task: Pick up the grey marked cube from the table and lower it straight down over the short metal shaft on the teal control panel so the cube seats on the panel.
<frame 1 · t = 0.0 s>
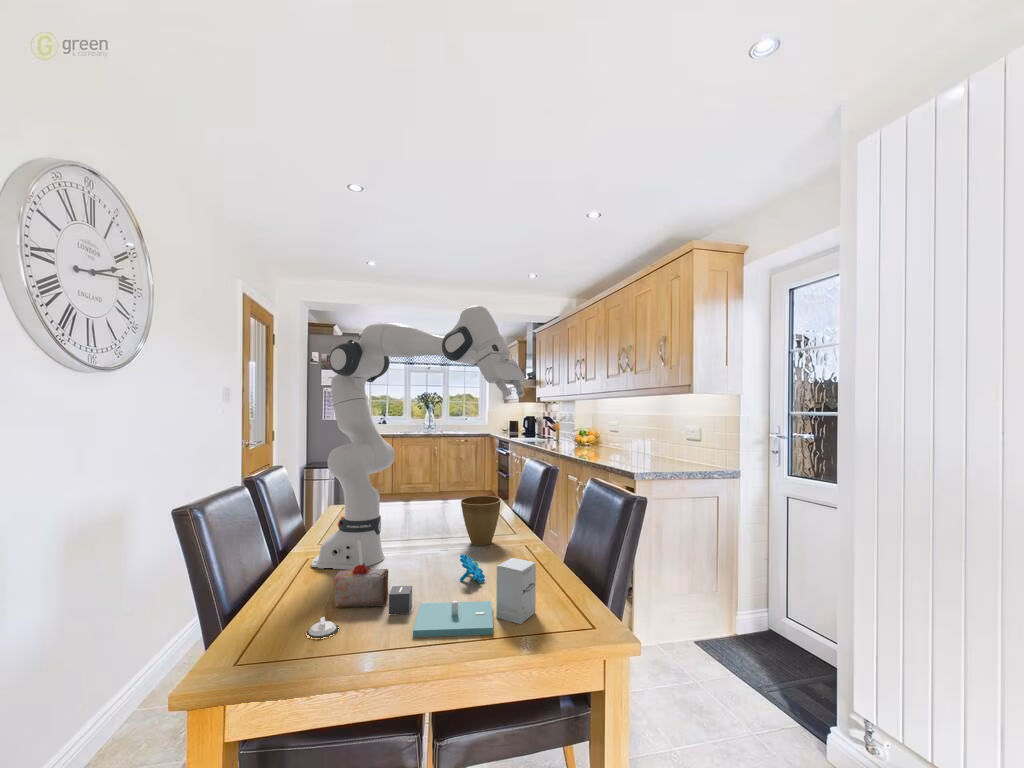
hand: (515, 395, 133), 54 cm above the table, tool tilted 30°, fingers open, 8 cm apart
plant pot: (480, 543, 173), on the table
food item: (361, 603, 122), on the table
supplement box: (516, 616, 115), on the table
control panel: (454, 621, 112), on the table
stove knob: (322, 634, 107), on the table
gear: (472, 581, 137), on the table
grey marked cube: (400, 609, 118), on the table
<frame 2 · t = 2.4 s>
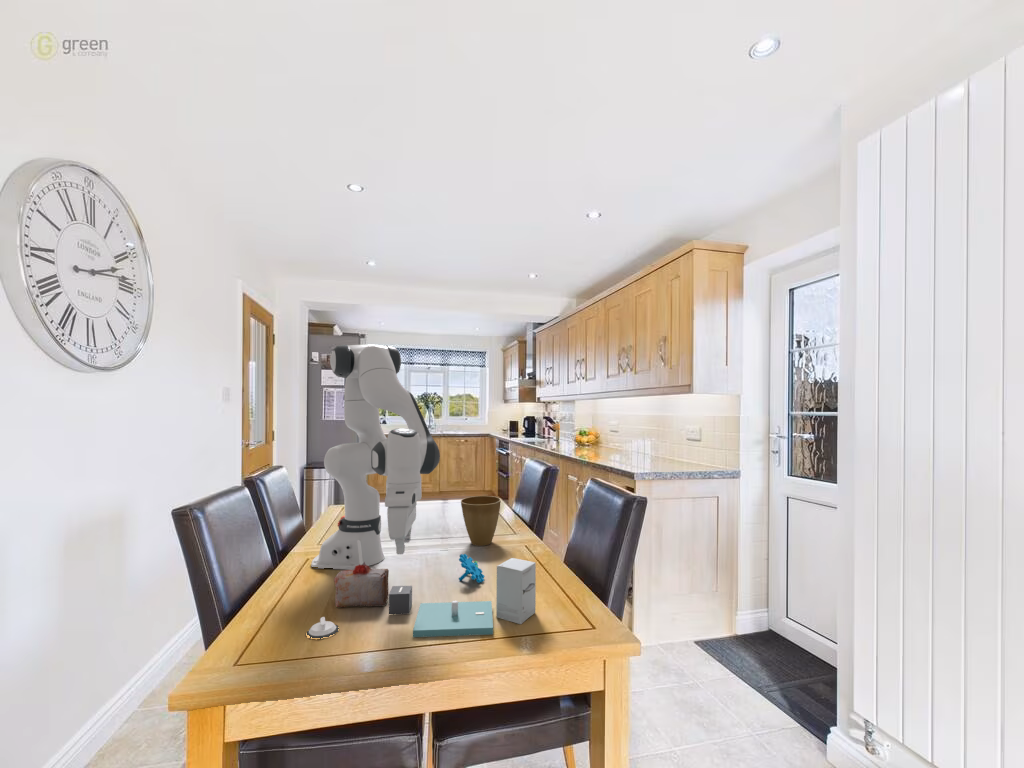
hand: (403, 547, 118), 16 cm above the table, tool pointing down, fingers open, 8 cm apart
nothing on the table moved.
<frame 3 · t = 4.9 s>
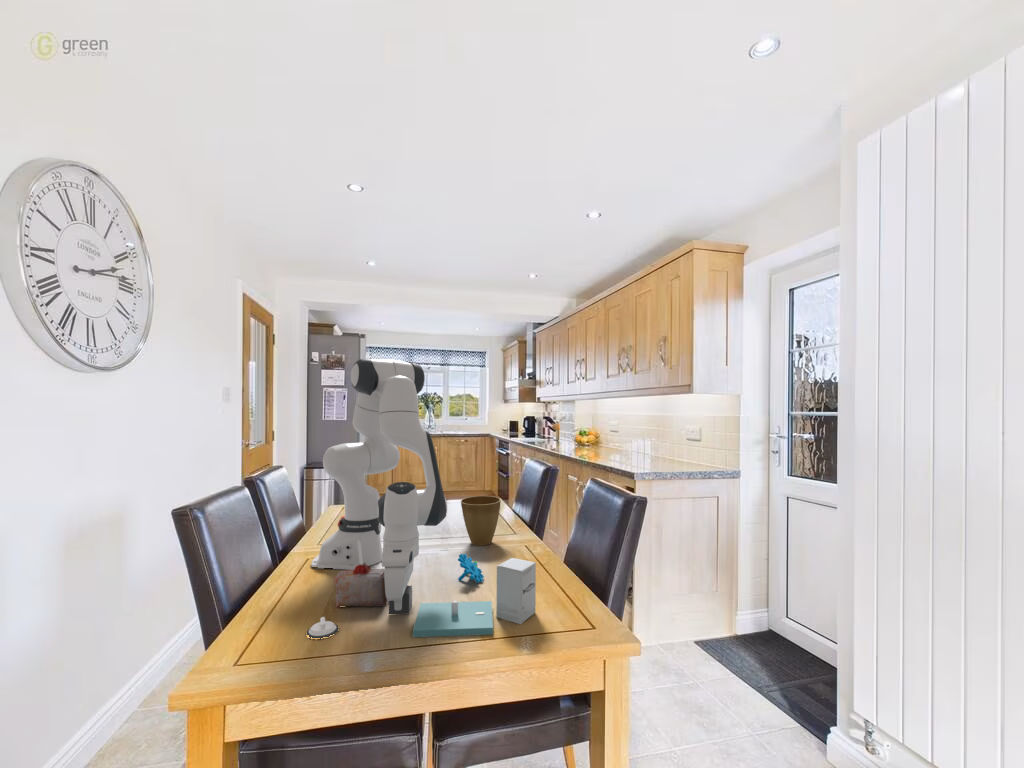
hand: (400, 603, 118), 2 cm above the table, tool pointing down, fingers closed on grey marked cube, 5 cm apart
grey marked cube: (400, 609, 118), on the table, touching gripper
everything else where it was.
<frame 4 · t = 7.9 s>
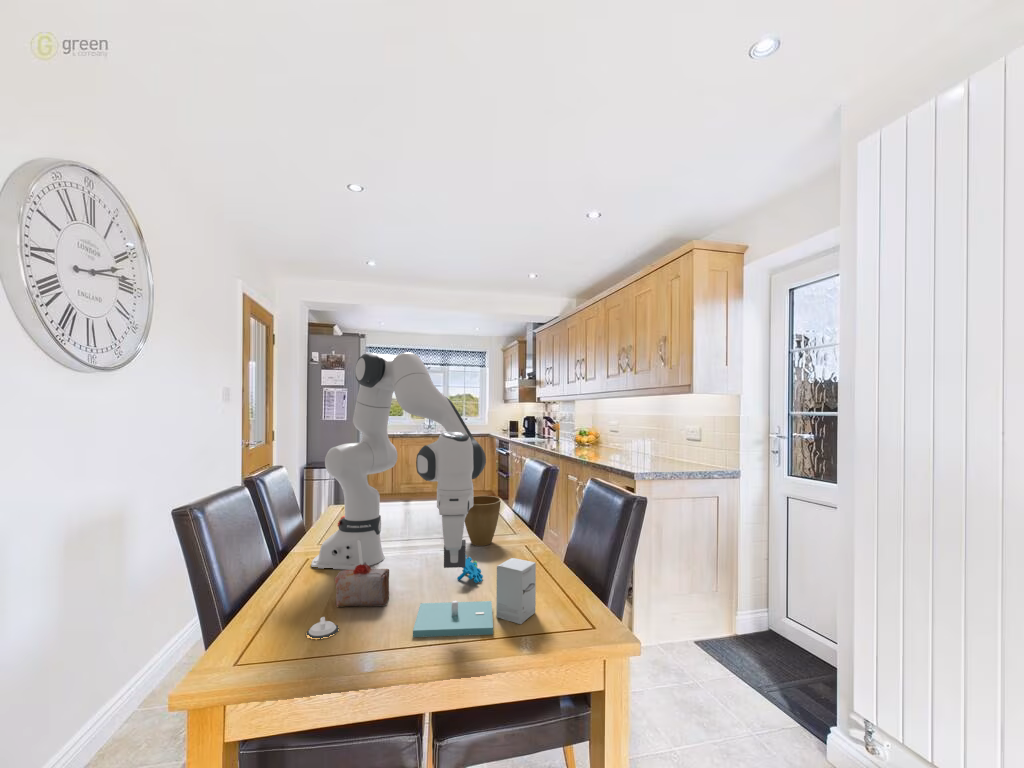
hand: (455, 557, 112), 15 cm above the table, tool pointing down, fingers closed on grey marked cube, 5 cm apart
grey marked cube: (454, 563, 112), point 14 cm above the table, touching gripper
everything else where it was.
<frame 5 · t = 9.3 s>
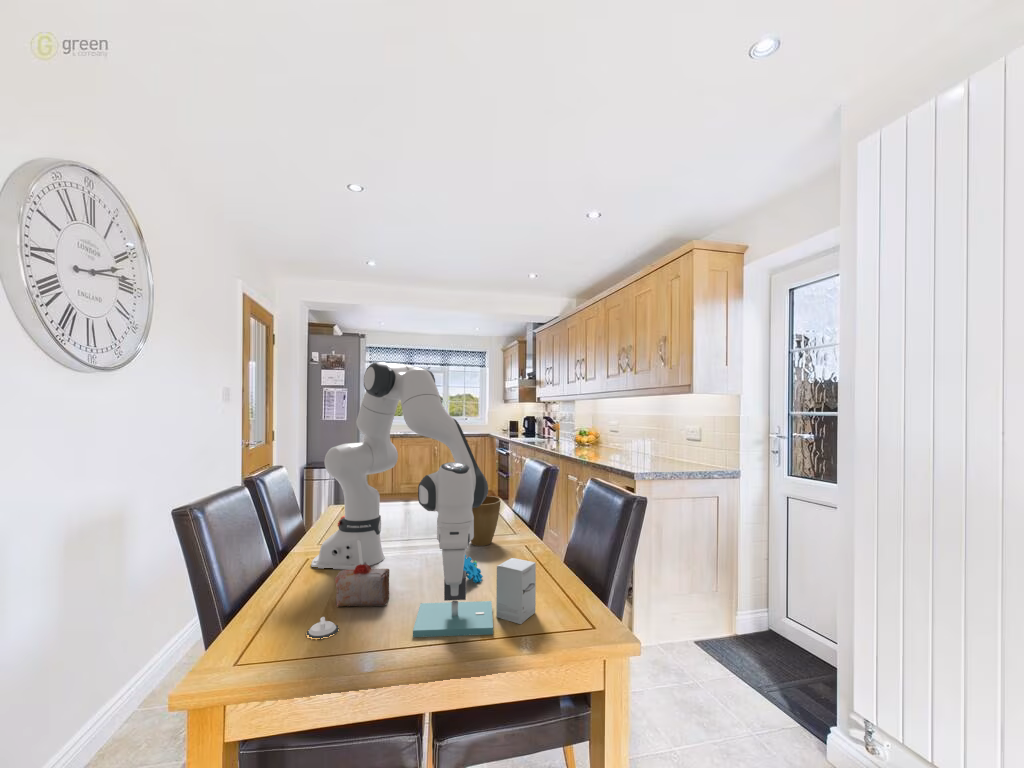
hand: (455, 589, 112), 8 cm above the table, tool pointing down, fingers closed on grey marked cube, 5 cm apart
grey marked cube: (455, 595, 112), point 6 cm above the table, touching gripper
everything else where it was.
when the fingers open (4 cm above the table, at t = 10.8 s): grey marked cube stays where it is, resting on control panel.
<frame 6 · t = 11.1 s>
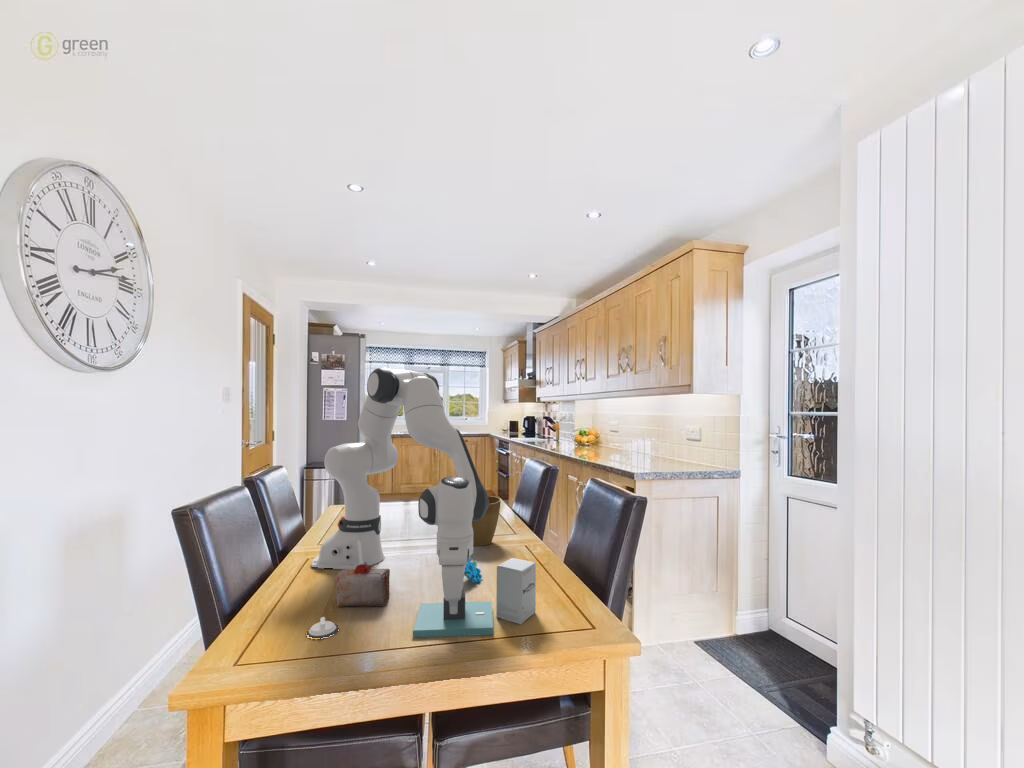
hand: (454, 603, 112), 4 cm above the table, tool pointing down, fingers open, 8 cm apart
grey marked cube: (454, 614, 112), point 1 cm above the table, touching control panel
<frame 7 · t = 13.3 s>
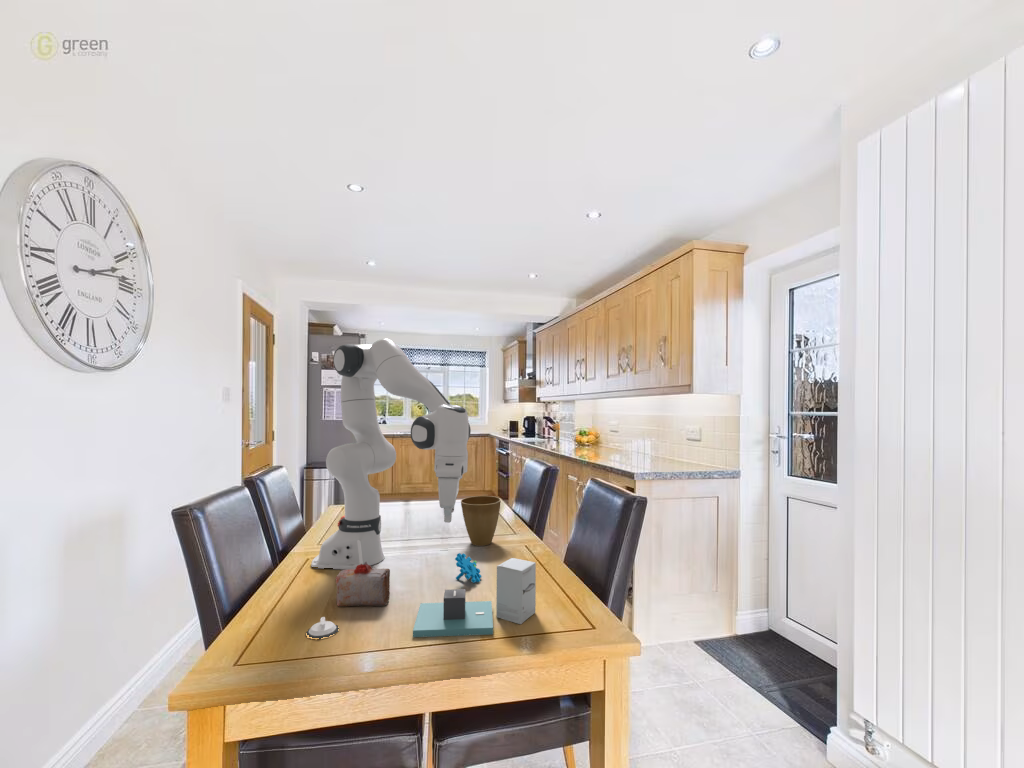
hand: (449, 516, 125), 22 cm above the table, tool pointing down, fingers open, 8 cm apart
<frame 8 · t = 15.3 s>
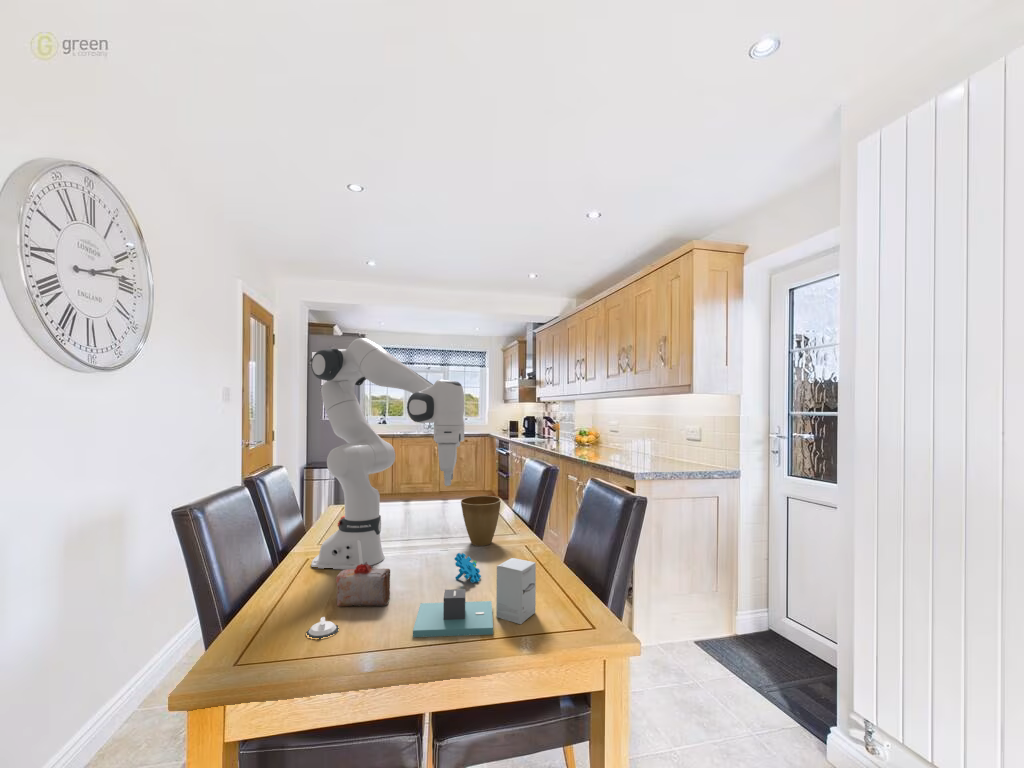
hand: (448, 482, 135), 29 cm above the table, tool pointing down, fingers open, 8 cm apart
at the end: grey marked cube 0.0 cm off-centre on the control panel, point 1.5 cm above the control panel's base; grey marked cube tilted 0°; the gripper is holding nothing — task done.
